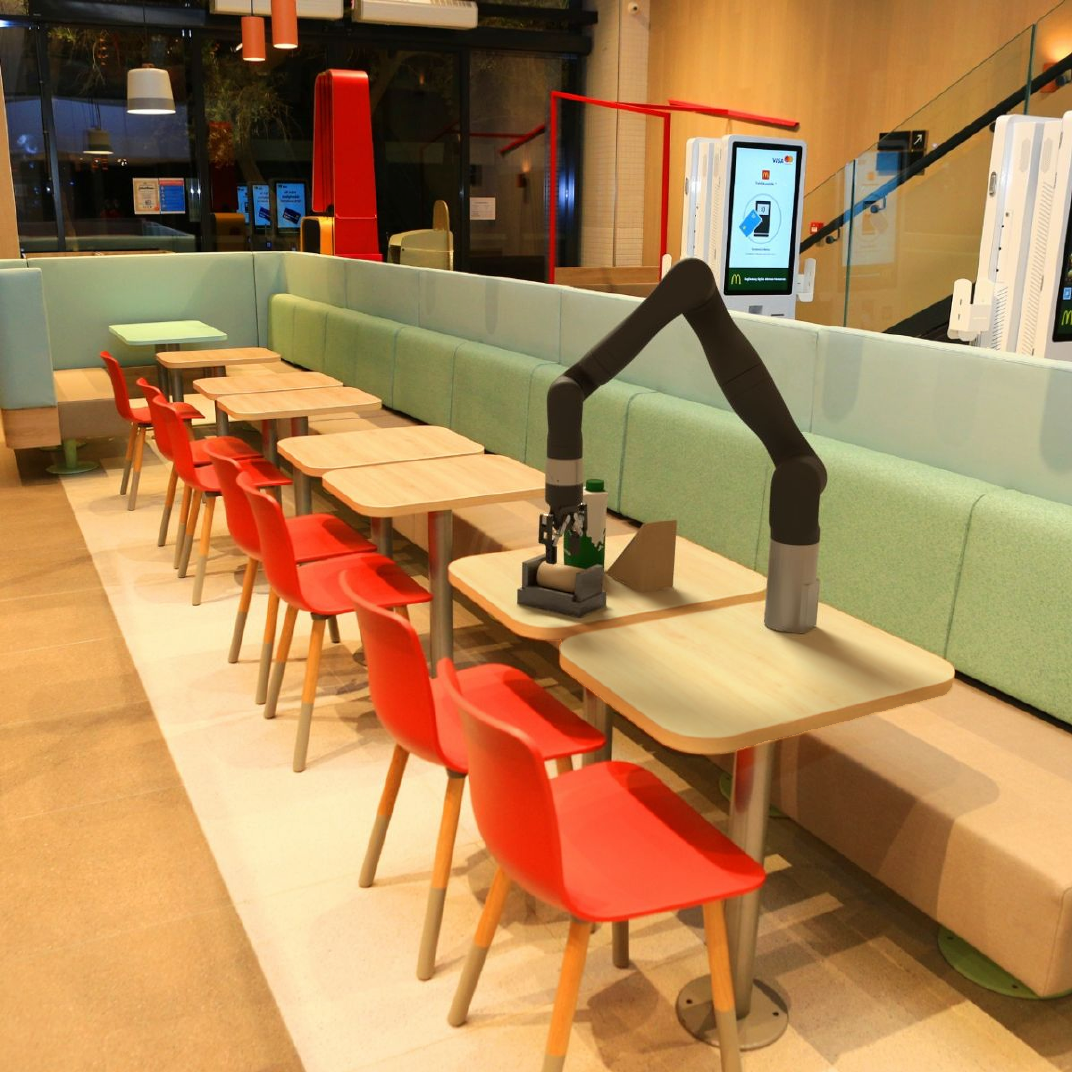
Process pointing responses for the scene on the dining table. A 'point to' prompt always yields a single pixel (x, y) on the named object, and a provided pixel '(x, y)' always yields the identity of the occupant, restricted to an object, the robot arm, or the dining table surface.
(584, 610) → the roll holder
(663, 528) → the sandwich container
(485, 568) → the dining table surface
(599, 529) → the milk carton
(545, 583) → the paper roll
